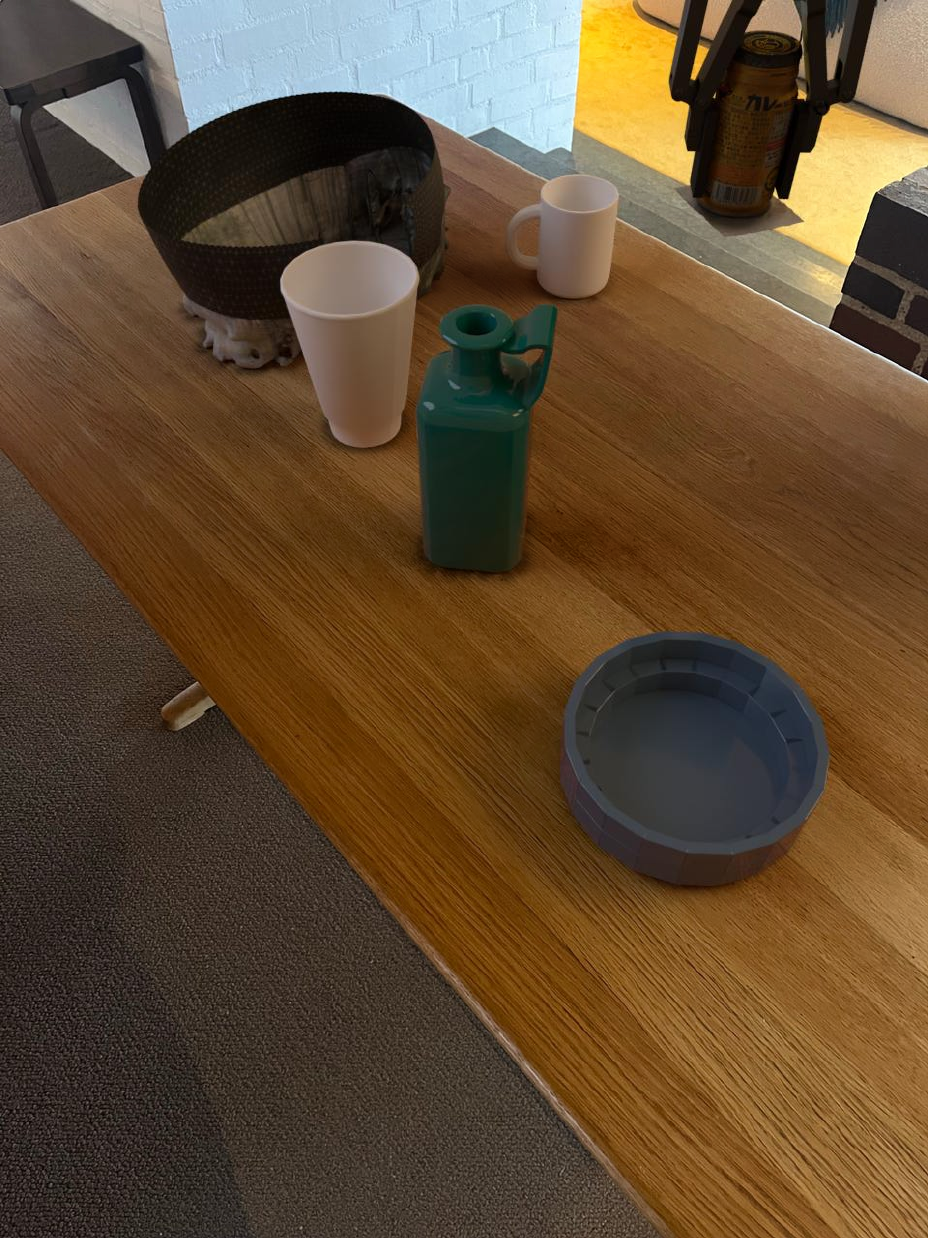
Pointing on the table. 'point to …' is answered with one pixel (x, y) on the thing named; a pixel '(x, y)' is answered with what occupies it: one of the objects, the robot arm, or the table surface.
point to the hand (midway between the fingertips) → (738, 189)
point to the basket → (289, 207)
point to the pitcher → (480, 435)
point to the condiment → (751, 137)
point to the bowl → (691, 757)
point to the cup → (355, 333)
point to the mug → (570, 235)
